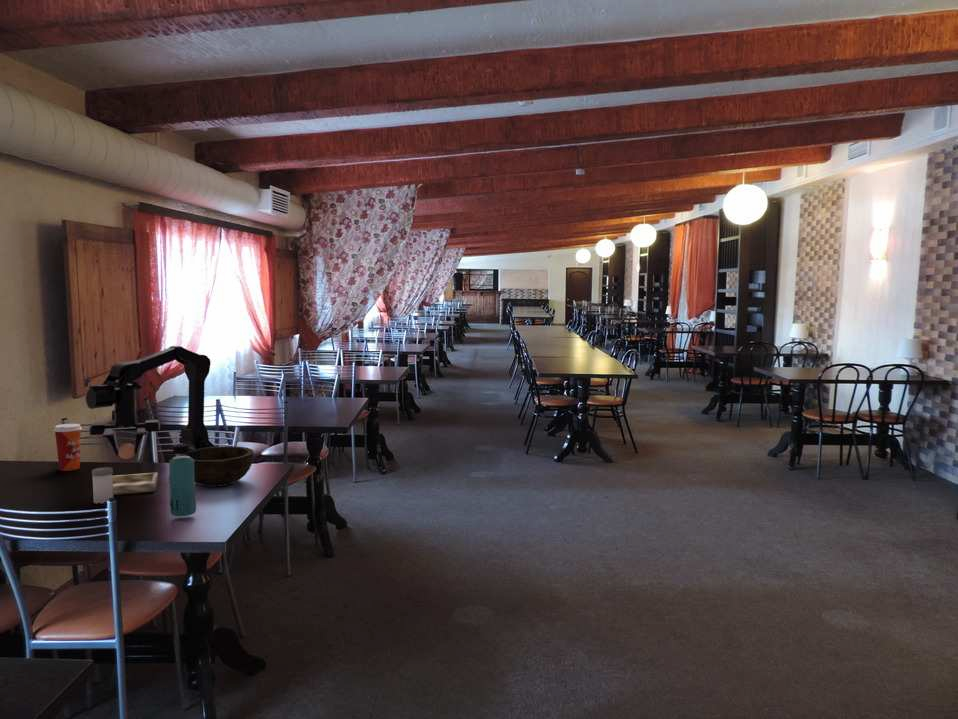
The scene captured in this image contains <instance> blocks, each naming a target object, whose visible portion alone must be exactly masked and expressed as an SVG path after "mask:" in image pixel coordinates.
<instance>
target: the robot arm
mask: <svg viewBox="0 0 958 719" xmlns="http://www.w3.org/2000/svg"><path fill="white" fill-rule="evenodd" d="M174 361H176V362H177V363H179V364H181V365H183V369H184V373H185V376H186V377H187V380H188V404H187V406H188V408H187V409H188V411H187V413H188V414H187V416H188V417H187V425H186V426H185V428H181V430H180V435H181V437H180V441H181V444H188V445H189V449H190V450H194V449H200V448H207V447H216V446H215V445H214V444H213V442H211V441H210V438H209V431H208V430H207V427H206V425H205V423H204V421H205V381H206V379H207V377H208V376H209V374H210V370H211V364H212V362H211V358H209V357H208V356H207V355H206V354H200V353H196V352H194V351H191V350H188V349H187V348H184V347H183V346H180V345H171V346H169V347H168V348H167V347H166V348H165V349H162V350H160V351H158V352H155V353H153V354H150V355H148V356H145V357H143V358H140V359H136V360H130V361H122V362H117V363H114V364H113V365H112V366H111V367H110V370H109V374H108V375H107V376H106V378H105V380H104V381H103V383H102V384H100V385H99V384H98V385H95V384H94V385H93V384H92V385H89V389H88V391H87V393H86V396H85V403H86V405H87V407H88V408H89V409H91V410H94V409H101V408H103V409H104V408H111V407H113V405H114V410H111V421H112V422H114V424H108V423H107V422H93V423H92V425H91V426H90V427H89V436H99V435H100V436H102V437H103V438H106V439H107V440H108V442H109V443H110V445H111V447H112V450H113V451H114V454H115V455H116V456H117V457H118V456H119V454H118V449H119V446H118V441H117V431H119V432H120V431H133V430H134V431H137V432H136V434H135V435H136V437H135V444H134V445H135V446H134V447H135V454H134V456H136V455H138V451H139V448H140V445H141V442H142V439H143V437H144V436H145V435H146V436H147V435H148V434H149V432H150V433H153V432H160V430H161V422H160V421H159V420H158V419H149V420H148V419H147V420H145V422H144V423H143V422H142V423H140V422H138V414H137V411H136V390H140V389H142V388H143V387H142V385H140V384H139V383H138V382H137V380H139V379H140V378H142V377H143V376H144V375H145V374H146V373H147V372H150V371H151V370H154V369H156V368H159V367H161V366H164V365H166V364H168V363H172V362H174Z"/></svg>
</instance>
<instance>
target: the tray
mask: <svg viewBox="0 0 958 719" xmlns="http://www.w3.org/2000/svg"><path fill="white" fill-rule="evenodd" d="M158 474H159V473H158V472H145V473H133V474H120V475H119V474H117V475H112V477H113V496H115V495H116V496H117V495H126V494H127V495H128V494H138V493H149V492H150V493H152V492H156V489H157V484H158V481H159V475H158Z"/></svg>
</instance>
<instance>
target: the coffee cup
mask: <svg viewBox="0 0 958 719" xmlns="http://www.w3.org/2000/svg"><path fill="white" fill-rule="evenodd" d="M82 429H83V428H82V426H81V424H80V423H66V424H65V423H63V424H57V425H55V427H54V430H53V432H54V434H55V443H56V453H57V461H58V462H57V463H58V469H59V471H61V472H62V471H63V472H71V471H75V470H79V469H80V466H81V440H82V439H81V438H82V437H81V436H82V435H81V434H82V433H81V432H82V431H81V430H82Z"/></svg>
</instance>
